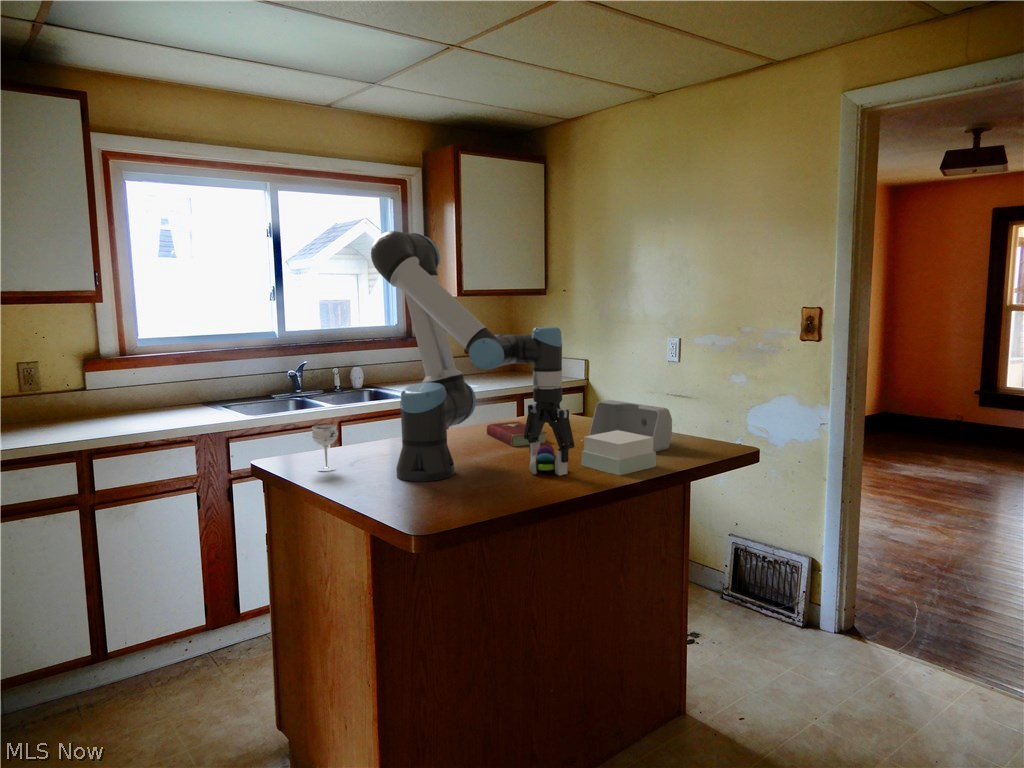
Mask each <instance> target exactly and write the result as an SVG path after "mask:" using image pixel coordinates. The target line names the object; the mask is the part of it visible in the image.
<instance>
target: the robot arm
mask: <svg viewBox="0 0 1024 768" xmlns="http://www.w3.org/2000/svg"><path fill="white" fill-rule="evenodd" d="M370 250H371V251H370V257H371V262H372V265H373V267H374V268H375V269H376V272H378V273H379V274H380V275H381V277H383V278H384V280H385V281H387V282H388V283H389V284H390V285H391V286H392V287H394V288H397V289H400V290H402V292H403V293H404V296H405V300H406V304H407V309H408V311H409V316H410V319H411V324H412V326H413V327H412V328H413V332H414V334H415V339H416V343H417V347H418V351H419V355H420V359H421V363H422V366H423V367H422V368H423V371H424V375H425V376H424V378H423V380H422V382H421V383H416V384H411V385H409V386H406V387H405V388H404V389H402V390H401V393H400V403H399V407H400V419H401V420H400V421H401V422H400V423H401V442H402V445H401V446H402V447H401V450H400V454H399V456H398V461H397V465H396V468H395V469H396V477H397V478H398V479H401V480H404V481H407V480H409V481H410V482H433V481H434V482H435V481H440V480H445V479H447V478H450V477H451V478H452V476H454V474H455V473H456V472H455V469H456V468H455V462H454V460H453V457H452V453H451V451H450V449H449V445H448V430H447V429H448V428H450V427H452V426H456V425H460V424H461V423H463V422H465V421H466V420H467V419H469V418H470V417H471V416H472V414H473V413H474V411H475V409H476V404H477V403H476V401H477V398H476V394H475V391H474V389H473V388H472V386H471V385H469V384H468V383H467V382H466V381H465V378H464V377H465V376H464V374H463V372H462V371H460V370H459V369H457V368H456V365H455V361H454V360H455V359H454V357H453V352H452V348H451V345H450V340H449V337H448V334H449V335H450V336H451V337H452V338H453V339H454V340H455V341H456V342H457V343H458V344H460V345H461V347H462V348H464V349H465V350H466V351H467V353H468V357H469V359H470V362H471V364H472V365H473V366H474V367H475V368H476V369H477V368H478V369H479V370H494V369H497V368H499V367H503V366H509V365H511V364H532V385H533V386H534V388H533V389H532V390H533V391H532V393H533V394H532V395H533V397H532V398H533V402H535V403H532V404H528V405H527V417H526V423H525V424H526V427H525V432H524V439H527V440H528V442H529V445H528V447H529V454H530V455H529V456H530V460H531V458H532V457H533V456H535V455H537V450H538V449H539V447H540V446H541V443H540V442H536V441H539V439H538V438H539V436H540V433H541V431H542V430H543V428H544V426H545V423H547V424H548V425H549V427H551V429H552V432H553V434H554V435H553V436H554V438H555V441H556V443H557V446H558V449H557V450H556V452H557V454H556V455H557V470H558V474H557V476H563V475H568V463H569V451H570V449H574V448H575V446H576V445H575V441H574V436H573V432H572V431H573V430H572V426H571V422H570V410H569V409H561V404H560V403H562V401H563V388H562V387H561V386H562V385H563V341H562V340H563V338H562V331H561V329H560V328H559V327H557V326H536V327H533V329H532V333H531V334H506V333H501V334H494V333H493V332H491V330H489V328H487V326H486V325H485V324H483V323H482V322H481V321H480V320H479V319H478V317H476V316H474V315H473V314H472V312H471V311H469V310H468V309H467V308H466V307H465V306H464V305H463V304H462V303H461V302H459V300H457V298H455V297H454V296H453V295H452V294H451V293H450V292H449V291H448V290H447V289H446V288H444V287H443V285H442V284H440V283H439V282H438V279H439V274H438V271H437V270H438V267H439V265H440V262H441V261H440V260H441V255H440V250H439V249H438V247H437V245H436V243H435V242H434V241H433V240H432V239H430V238H429V237H428V236H425V235H423V234H420V233H417V232H416V233H415V232H412V233H410V232H404V231H399V230H398V231H397V230H390V231H386V232H384V233H381V234H380V235H378V237H376V239H375V240H374V242H373V243H372V246H371V249H370ZM529 433H530V434H529ZM409 481H408V482H409Z"/></svg>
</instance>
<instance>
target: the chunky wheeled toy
mask: <svg viewBox="0 0 1024 768" xmlns="http://www.w3.org/2000/svg"><path fill="white" fill-rule="evenodd" d="M528 465H529V471H530V473H532V474H533V475H537V474H538V471H553V470H554V475H558V470H557V454H556V453H555V449H554V448H553V446H552V445H551V444H548V443H543V444H542V445H540V447H539V449H538V450H537V455H535V456H533V457H532V458H531V460H530V462H529V464H528Z"/></svg>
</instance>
